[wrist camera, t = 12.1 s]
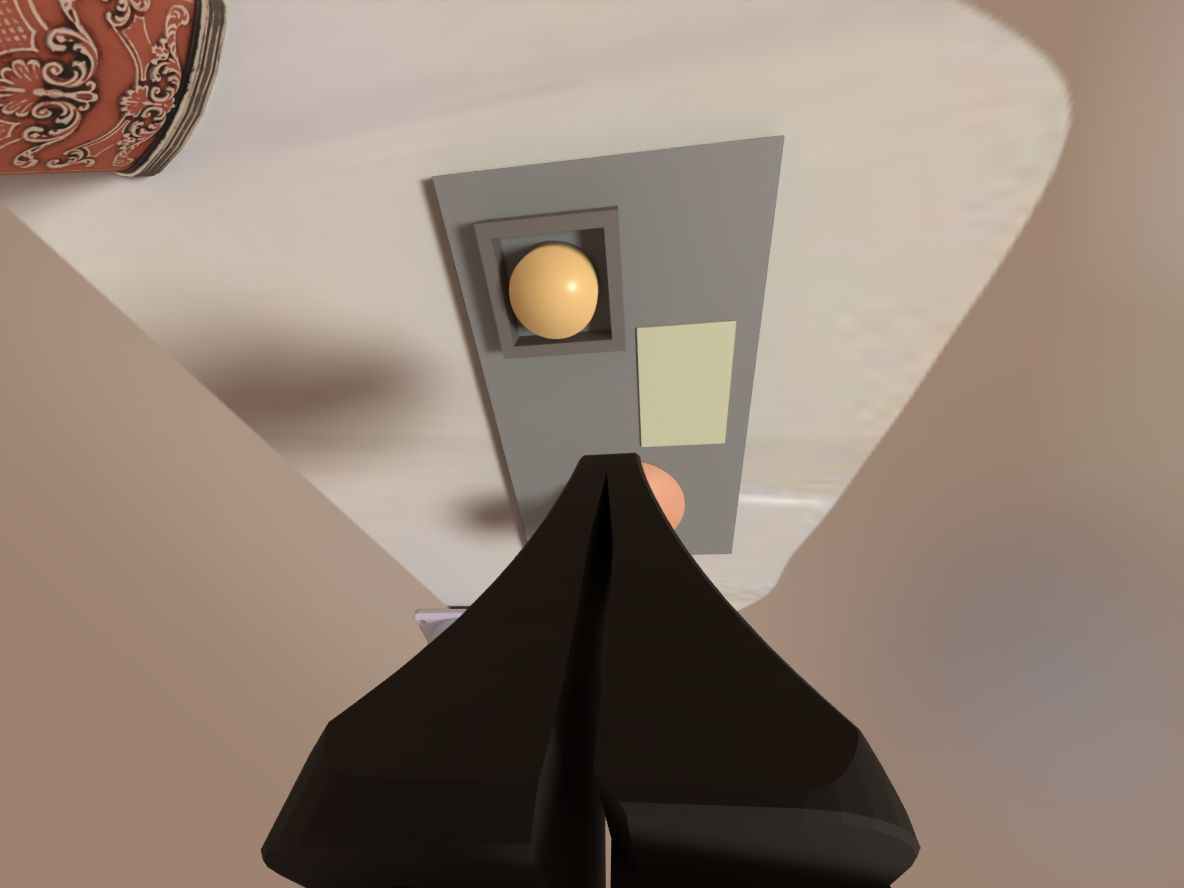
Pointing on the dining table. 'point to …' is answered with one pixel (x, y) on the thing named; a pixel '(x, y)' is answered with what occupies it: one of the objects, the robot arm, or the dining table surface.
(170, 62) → the lighter
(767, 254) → the grey board
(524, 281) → the button
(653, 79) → the dining table surface
